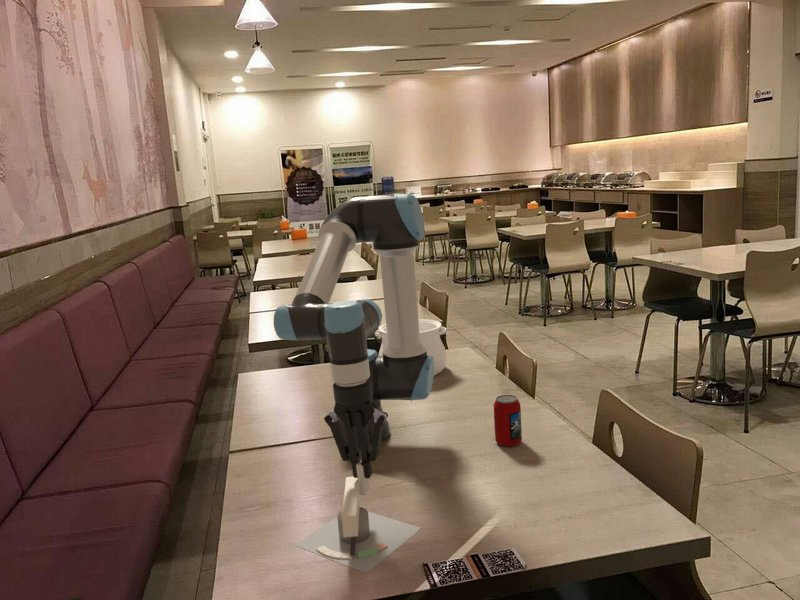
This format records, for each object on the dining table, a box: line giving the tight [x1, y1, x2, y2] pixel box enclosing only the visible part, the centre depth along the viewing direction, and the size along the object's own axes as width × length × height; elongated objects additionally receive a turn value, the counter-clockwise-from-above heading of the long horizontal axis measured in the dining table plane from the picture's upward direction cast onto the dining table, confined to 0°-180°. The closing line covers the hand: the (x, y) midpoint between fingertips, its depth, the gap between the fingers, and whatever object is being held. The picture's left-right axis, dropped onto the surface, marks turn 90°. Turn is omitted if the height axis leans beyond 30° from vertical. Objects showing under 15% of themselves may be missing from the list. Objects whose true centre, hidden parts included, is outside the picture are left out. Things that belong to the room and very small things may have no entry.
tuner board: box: [293, 510, 422, 574], centre depth 127 cm, size 18×17×2 cm
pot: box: [374, 318, 447, 376], centre depth 233 cm, size 26×24×17 cm
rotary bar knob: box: [336, 476, 370, 556], centre depth 126 cm, size 6×16×8 cm, turn 2°
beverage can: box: [493, 394, 523, 448], centre depth 166 cm, size 7×7×12 cm
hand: (364, 492), depth 132 cm, fingers closed
